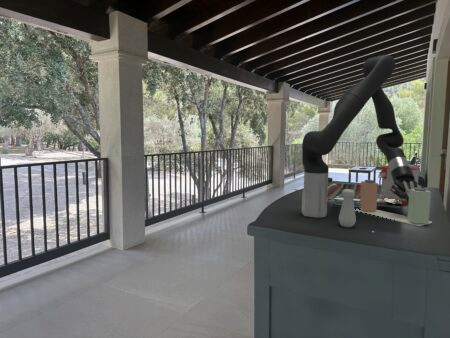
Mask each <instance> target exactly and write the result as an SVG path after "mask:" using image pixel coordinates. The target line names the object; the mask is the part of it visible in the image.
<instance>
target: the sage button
mask: <svg viewBox="0 0 450 338" xmlns="http://www.w3.org/2000/svg"><path fill="white" fill-rule="evenodd" d="M431 196H432V192H431V191H429V190H427V188H415V189H410V190H409V204H408V205H407V206H408V208H407V216H408V219H407V220H409V221H411V222H413V223H424V224H426V225H429V221H430V210H431Z"/></svg>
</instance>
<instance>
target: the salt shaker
mask: <svg viewBox="0 0 450 338" xmlns="http://www.w3.org/2000/svg"><path fill="white" fill-rule="evenodd" d="M355 195H356V191H355V190H354V189H350V188H346V189H345V188H344V189H343V190H342V191H341V196H343V198H342V199H343V200H342V203H341V207H340V211H339V215H338V221H339V224H340V226H341V227H344V228H353V227H354V225H355V223H356V221H357V216H356V211H355V209H356V208H355V202H354V197H356V196H355Z"/></svg>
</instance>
